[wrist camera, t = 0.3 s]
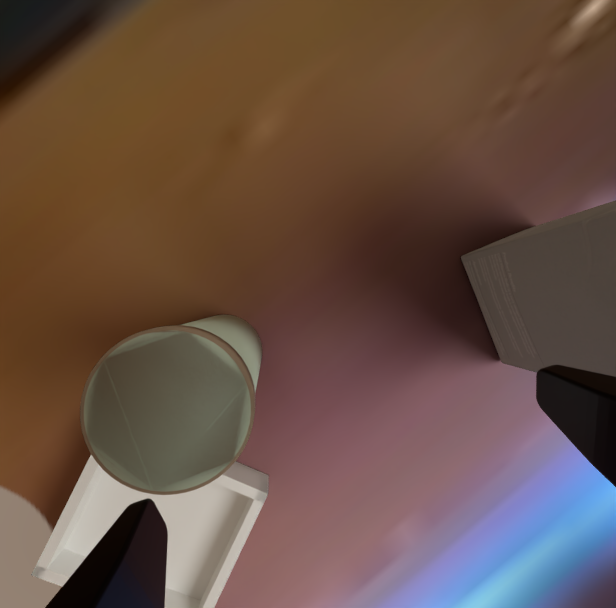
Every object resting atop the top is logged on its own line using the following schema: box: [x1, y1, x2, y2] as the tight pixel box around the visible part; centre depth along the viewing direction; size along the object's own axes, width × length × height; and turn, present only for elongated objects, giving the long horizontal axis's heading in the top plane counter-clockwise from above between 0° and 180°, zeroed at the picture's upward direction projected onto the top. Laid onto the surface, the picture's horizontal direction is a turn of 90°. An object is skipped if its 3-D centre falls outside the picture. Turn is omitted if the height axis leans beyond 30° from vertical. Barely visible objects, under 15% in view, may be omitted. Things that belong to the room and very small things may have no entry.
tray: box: [31, 455, 269, 608], centre depth 21 cm, size 9×10×2 cm
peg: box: [80, 315, 262, 495], centre depth 16 cm, size 5×5×12 cm
